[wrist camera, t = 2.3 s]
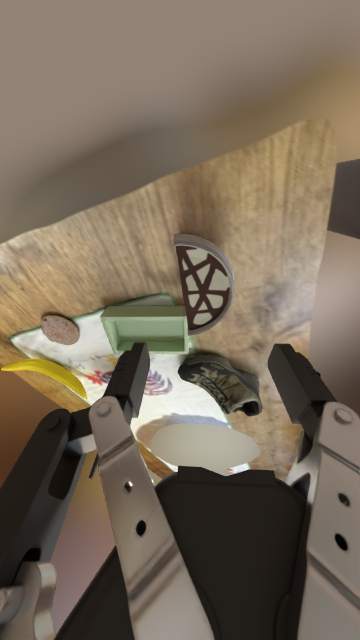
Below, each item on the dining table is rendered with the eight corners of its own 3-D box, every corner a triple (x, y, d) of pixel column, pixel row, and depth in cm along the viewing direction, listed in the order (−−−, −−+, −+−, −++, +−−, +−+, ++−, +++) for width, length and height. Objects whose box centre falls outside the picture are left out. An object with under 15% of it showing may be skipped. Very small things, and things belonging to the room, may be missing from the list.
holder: (188, 305, 32) (188, 316, 29) (188, 341, 37) (188, 354, 34) (107, 306, 33) (99, 316, 30) (119, 341, 38) (113, 353, 35)
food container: (223, 297, 30) (236, 335, 22) (188, 300, 31) (188, 338, 23) (224, 215, 23) (242, 228, 15) (178, 222, 24) (172, 238, 16)
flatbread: (48, 307, 33) (45, 309, 32) (86, 327, 36) (84, 331, 35) (37, 331, 37) (34, 334, 36) (72, 348, 40) (70, 351, 39)
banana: (93, 383, 48) (81, 406, 43) (18, 350, 41) (-7, 373, 36) (97, 379, 47) (86, 402, 42) (20, 344, 40) (-5, 366, 35)
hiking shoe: (190, 343, 37) (189, 382, 30) (268, 373, 42) (285, 413, 34) (173, 365, 42) (170, 403, 34) (246, 390, 47) (256, 429, 39)
